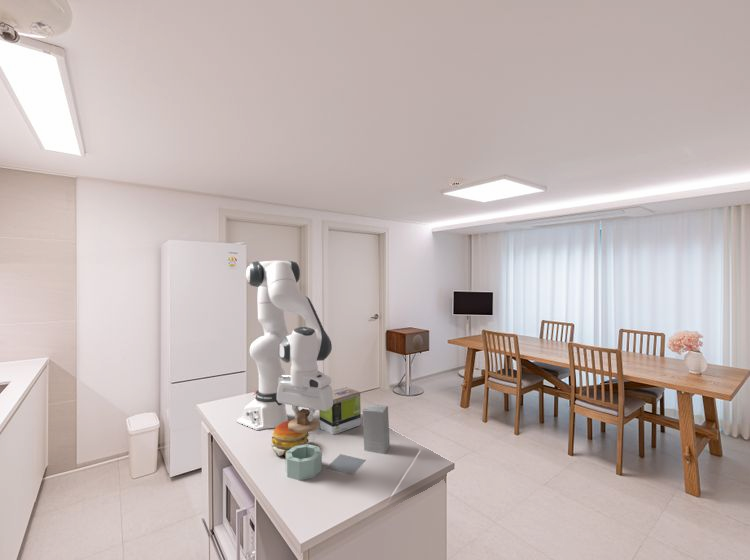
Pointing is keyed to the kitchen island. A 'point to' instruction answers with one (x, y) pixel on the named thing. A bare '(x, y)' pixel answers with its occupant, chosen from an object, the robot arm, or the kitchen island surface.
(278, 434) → the burger
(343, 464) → the mat
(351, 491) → the kitchen island surface
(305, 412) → the lid
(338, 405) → the tea box
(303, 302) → the robot arm
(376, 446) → the skincare box
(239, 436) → the kitchen island surface
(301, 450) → the bowl
